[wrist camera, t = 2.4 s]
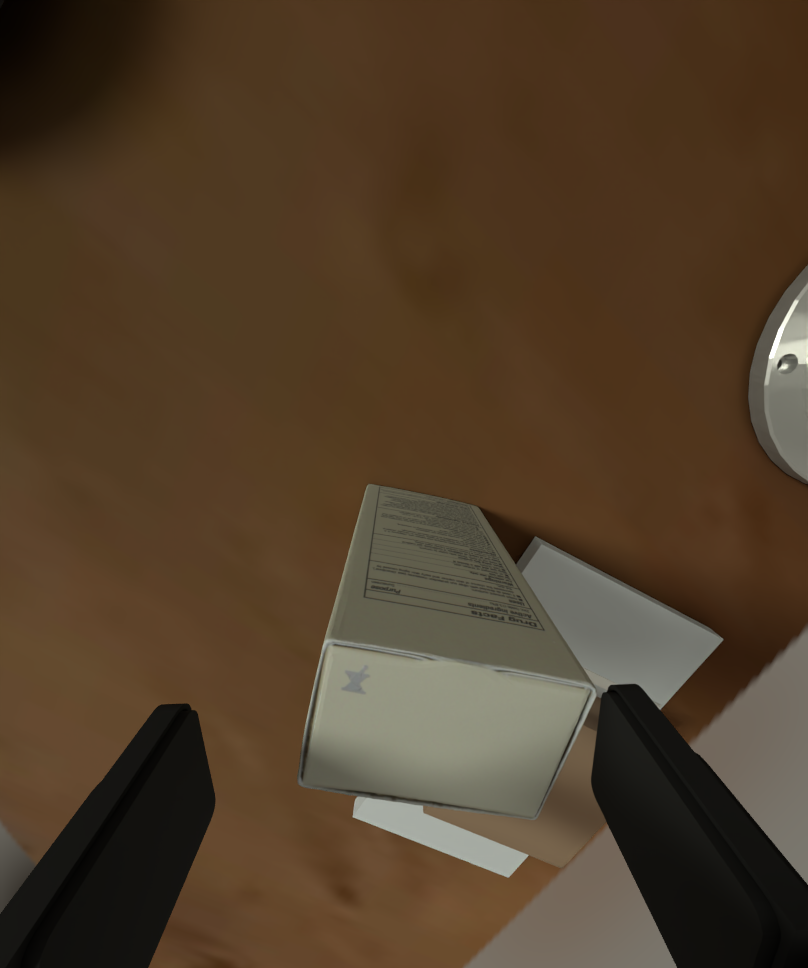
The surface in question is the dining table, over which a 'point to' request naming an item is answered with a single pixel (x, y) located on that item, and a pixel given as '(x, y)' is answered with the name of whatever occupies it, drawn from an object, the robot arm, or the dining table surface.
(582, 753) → the walnut plinth
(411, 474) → the dining table surface
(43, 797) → the dining table surface
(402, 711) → the skincare box
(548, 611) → the white board
